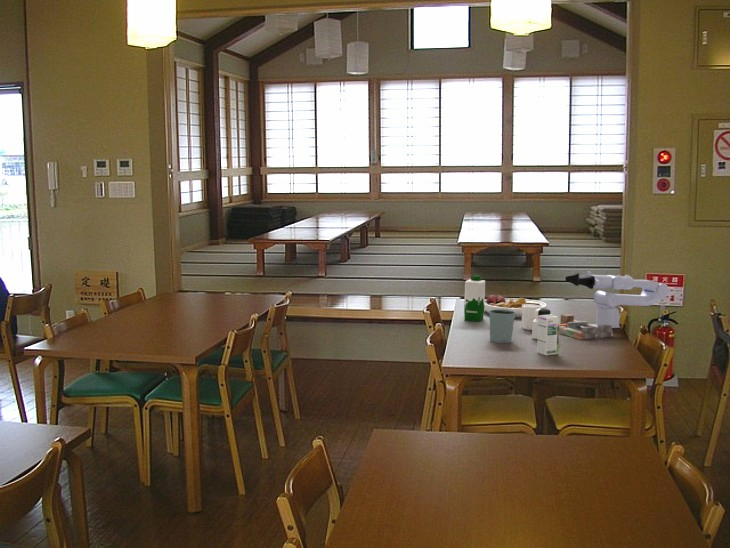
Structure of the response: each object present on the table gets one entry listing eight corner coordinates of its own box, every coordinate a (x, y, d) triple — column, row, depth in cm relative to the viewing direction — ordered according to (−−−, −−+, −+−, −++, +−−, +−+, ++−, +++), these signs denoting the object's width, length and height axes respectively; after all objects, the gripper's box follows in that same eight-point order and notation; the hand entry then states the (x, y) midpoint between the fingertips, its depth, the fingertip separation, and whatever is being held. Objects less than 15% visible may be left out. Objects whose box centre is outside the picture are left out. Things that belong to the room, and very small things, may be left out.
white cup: (539, 330, 346) (540, 307, 345) (520, 329, 348) (521, 306, 347) (539, 327, 354) (540, 304, 353) (520, 326, 356) (521, 303, 354)
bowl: (555, 312, 392) (555, 296, 391) (532, 321, 367) (533, 304, 366) (497, 305, 408) (498, 290, 407) (472, 314, 383) (472, 298, 382)
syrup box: (545, 355, 300) (547, 317, 298) (536, 352, 306) (538, 314, 304) (558, 354, 302) (560, 316, 301) (548, 351, 308) (550, 313, 306)
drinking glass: (483, 339, 328) (484, 310, 326) (504, 337, 332) (506, 308, 330) (497, 344, 318) (498, 314, 317) (519, 342, 322) (520, 312, 321)
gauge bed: (569, 323, 362) (570, 313, 361) (613, 336, 336) (613, 325, 336) (538, 326, 355) (539, 316, 355) (580, 339, 329) (581, 328, 329)
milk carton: (485, 319, 371) (487, 275, 368) (480, 322, 363) (482, 278, 360) (467, 317, 374) (468, 274, 372) (461, 320, 366) (463, 277, 363)
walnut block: (567, 327, 354) (568, 314, 353) (573, 329, 351) (574, 315, 350) (560, 328, 353) (560, 314, 352) (566, 329, 349) (566, 316, 348)
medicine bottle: (551, 336, 334) (552, 308, 332) (549, 340, 327) (550, 311, 326) (534, 335, 336) (535, 307, 335) (531, 338, 330) (533, 309, 328)
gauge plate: (585, 330, 348) (585, 320, 347) (595, 333, 342) (595, 323, 341) (557, 332, 342) (557, 323, 341) (567, 335, 336) (567, 326, 335)
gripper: (587, 270, 357) (562, 268, 352) (609, 274, 344) (583, 273, 339) (585, 286, 358) (560, 284, 352) (607, 290, 345) (581, 289, 339)
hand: (571, 280), depth 345 cm, fingers open, 7 cm apart
